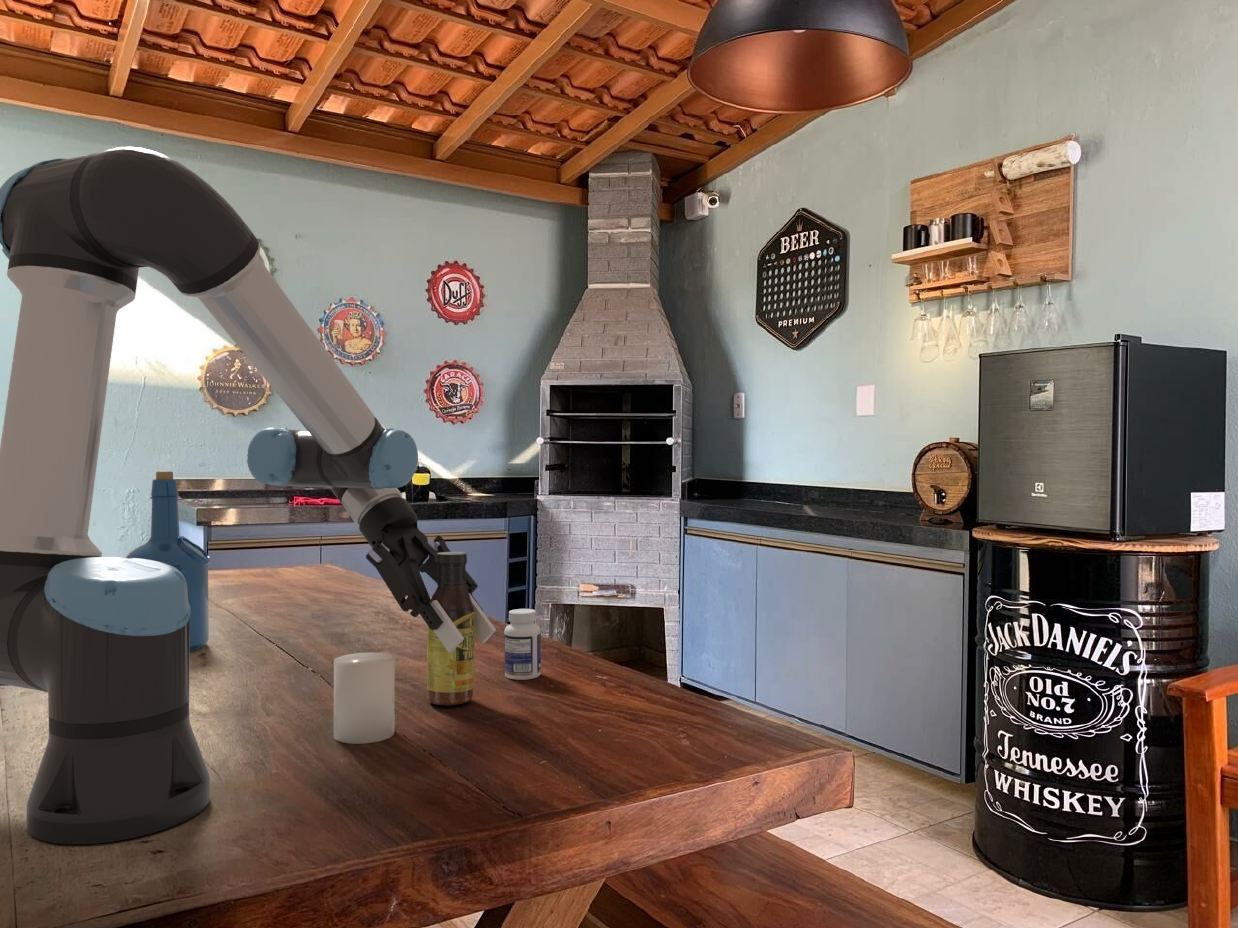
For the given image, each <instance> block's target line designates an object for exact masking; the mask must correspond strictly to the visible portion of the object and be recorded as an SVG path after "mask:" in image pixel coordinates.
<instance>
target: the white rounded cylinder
mask: <svg viewBox="0 0 1238 928" xmlns="http://www.w3.org/2000/svg"><path fill="white" fill-rule="evenodd" d="M395 666H396V658H395V656H394V655H392V654H390V653H385V652H357V653H350V654H349V653H348V654H344V655H340V656H338V657H336V658H334V659H333V740H335V741H337V742H340V743H343V744H345V743H346V744H350V745H351V744H353V745H355V744H357V745H358V744H361V745H362V744H371V743H377V742H382V741H384V740H387V739H390V738H392V736H394V735H395V714H396V713H395V706H396V705H395V704H396V702H395V700H396V699H395V695H396V692H395V691H396V690H395V687H396V685H395V684H396V682H395V681H396V678H395V677H396V676H395V675H396V673H395V672H396V671H395V669H396V667H395Z"/></svg>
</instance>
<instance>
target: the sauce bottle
mask: <svg viewBox="0 0 1238 928" xmlns="http://www.w3.org/2000/svg"><path fill="white" fill-rule="evenodd" d="M467 555H468V554H467V552H464V551H451V552H441V553H437V557H436V559H437V560H436V562H437V565H438V581H437V583H436V585H437V588H436V589H435V592H434V593H433V594H432V596H431V597H430V599H431V600H430V604H431V602H432V601H434V600H437V601H438V602H439V604H440V605H441V607H442V608H443V609H444V611H445V612H446V614H447V615H448V616H449V618H450V619H451V621H452V622H453V623H454V625H455V626H456V628H457V629H458V631H459V632H460V633H461V635H462V636H463V638H464V640H463V641H462V642H461V643H460V644H459V645H458V646H457V647H456V649H455V650H454V651H453V652H450V653H449V652H448V651H447V649H446V648H445V647H444V645H443V644H442V642H441V641H440V639H439V638H438V637H437V635H436V634H435V632H434V631H433V630H431V629H430V628H429V626H428V625H427V636H426V637H427V638H426V640H427V648H426V649H427V650H426V651H427V655H426V668H427V669H426V689H427V690H428V693H427V694H428V695H427V698H428V701H429V702H430V703H431V704H433V705H438V706H456V705H461V704H466V703H469V702H471V701H472V699H473V696H474V688H475V653H476V651H475V649H476V645H475V644H476V643H475V642H476V641H475V640H476V639H475V637H476V635H475V610H474V607H473V604H472V601H471V599H470V596H469V593H468V590H467V587H466V579H465V578H466V576H465V575H466V574H465V573H466V571H467V569H466V565H467V564H468V556H467Z"/></svg>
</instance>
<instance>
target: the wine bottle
mask: <svg viewBox="0 0 1238 928" xmlns="http://www.w3.org/2000/svg"><path fill="white" fill-rule="evenodd" d="M150 491H151V493H150V497H149V499H150V500H151V516H150V518H151V520H150V537H149V539H148V540H147V541H146V542H145V543H143V544H141V545H140V546H137V547H136V548H134V549H133V550H130V551H129V552H128V553H127V554H126V556H125V558H129V559H130V558H140V559H147V560H153V561H158V562H162V563H165V564H168V565H171V566H173V567H175V568H176V569H178V570H179V571H180V572H181V573H182V574H183V576H184V577H185V579H186V583H187V593H188V602H189V605H190V608H191V612H190V652H193V651H196V650H199V649H201V648H203V647H205V646H207V644H208V641H209V638H210V637H209V634H210V633H209V629H210V628H209V626H210V625H209V624H210V623H209V621H210V620H209V619H210V618H209V566H208V565H209V564H210V563H211V560H212V559H211V557H210V556H209V554H208V553H207V552H206V551H205V550H204V549H203V548H202V547H201V546H199V545H198V544H195V543H194V542H192V541H191V540H190V539H188V538H187V537H185V536H183V535H180V523H179V522H180V521H179V519H180V518H179V516H180V515H179V500H178V499H180V496H179V488H178V480H177V479H176V478H174V472H173V471H172V470H158V471H156V472H155V478H154V479H152V483H151V489H150Z"/></svg>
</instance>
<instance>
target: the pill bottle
mask: <svg viewBox="0 0 1238 928" xmlns="http://www.w3.org/2000/svg"><path fill="white" fill-rule="evenodd" d="M536 611H537V610H535V609H532V608H518V609H517V608H516V609H512V610H509V611H508V621H509V622H510V624H508V625H506V627H505V629H504V633H503V634H504V636H503V637H504V639H503V640H504V676H505V677H506V679H510V680H516V681H527V680H533V679H536V678H538V677H540V675H541V674H542V647H541V645H542V644H541V643H542V637H541V636H542V635H541V634H542V633H541V627H540V626H539V624H536V623H535V622H536V620H537V612H536Z"/></svg>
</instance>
